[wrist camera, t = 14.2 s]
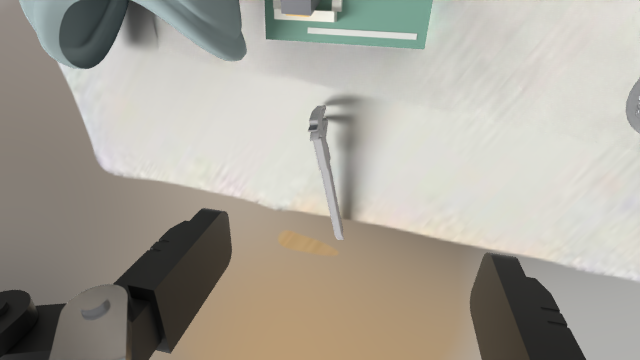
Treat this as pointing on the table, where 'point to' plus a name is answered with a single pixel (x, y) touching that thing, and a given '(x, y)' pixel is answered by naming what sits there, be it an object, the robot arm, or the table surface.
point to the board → (354, 23)
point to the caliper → (325, 165)
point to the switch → (299, 7)
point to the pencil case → (107, 16)
